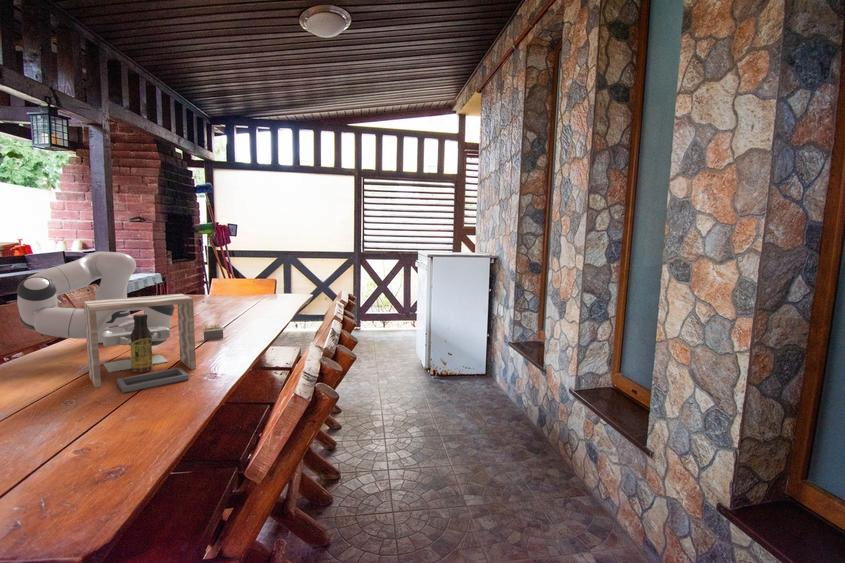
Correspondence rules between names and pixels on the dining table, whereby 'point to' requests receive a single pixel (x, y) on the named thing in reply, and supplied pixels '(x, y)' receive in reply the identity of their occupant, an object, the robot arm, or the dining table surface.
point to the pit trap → (151, 380)
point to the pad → (127, 363)
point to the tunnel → (135, 302)
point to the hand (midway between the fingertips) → (141, 340)
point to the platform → (213, 332)
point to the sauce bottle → (141, 345)
